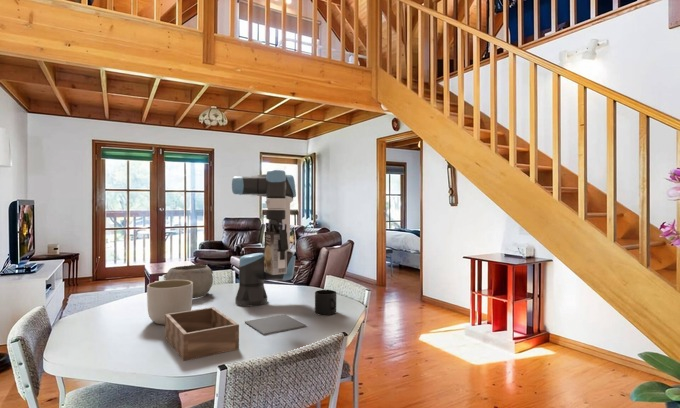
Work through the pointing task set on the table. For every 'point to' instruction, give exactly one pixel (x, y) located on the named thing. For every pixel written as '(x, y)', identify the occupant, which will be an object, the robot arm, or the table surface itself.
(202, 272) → the bowl
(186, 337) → the crate
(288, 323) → the mat
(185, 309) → the planter
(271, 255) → the coffee box
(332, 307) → the mug
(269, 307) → the table surface
